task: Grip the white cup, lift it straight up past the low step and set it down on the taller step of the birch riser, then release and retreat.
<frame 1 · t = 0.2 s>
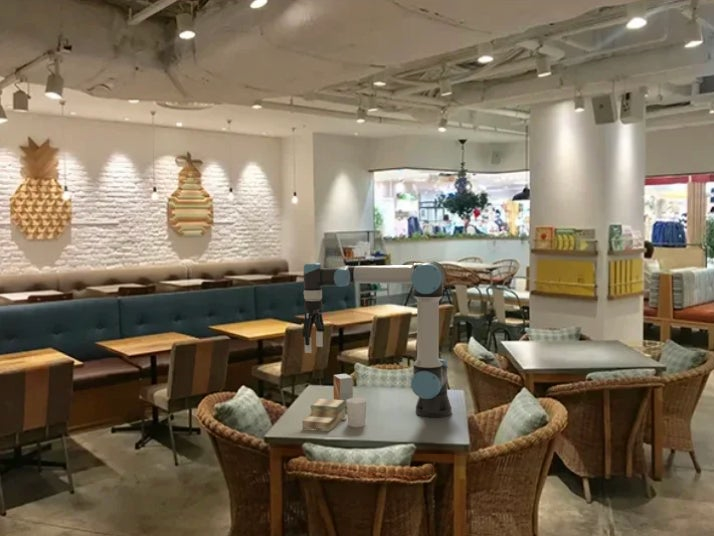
hand: (314, 349, 275), 28 cm above the table, fingers open, 13 cm apart
white cup: (356, 425, 261), on the table
riser: (324, 422, 264), on the table
small box: (343, 405, 290), on the table
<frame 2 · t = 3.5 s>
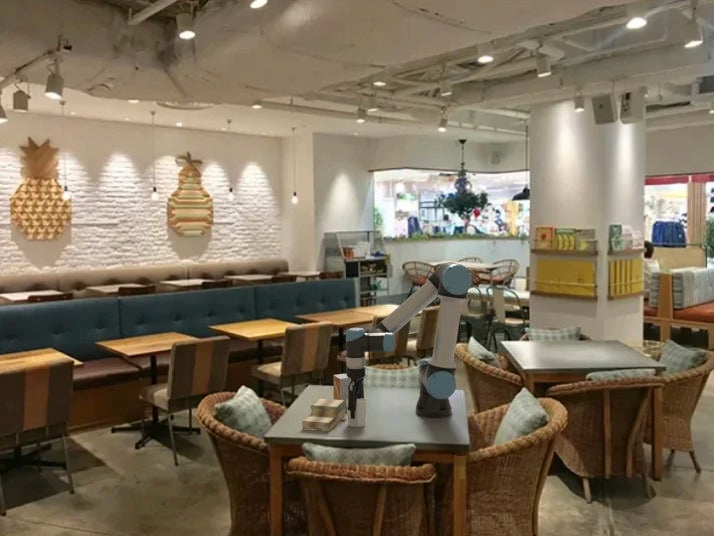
hand: (356, 422, 261), 1 cm above the table, fingers closed on white cup, 7 cm apart
white cup: (356, 425, 261), on the table, touching gripper
everything else where it was.
when the fingers open (9 cm above the table, at t = 8.8 s): white cup drops 1 cm, resting on riser.
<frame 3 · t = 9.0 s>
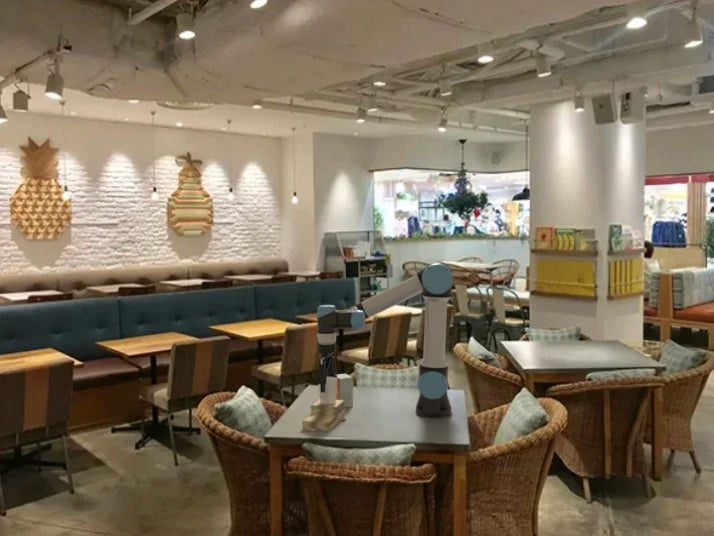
hand: (327, 396, 268), 10 cm above the table, fingers open, 9 cm apart
white cup: (327, 403, 268), point 7 cm above the table, touching riser
everything else where it was.
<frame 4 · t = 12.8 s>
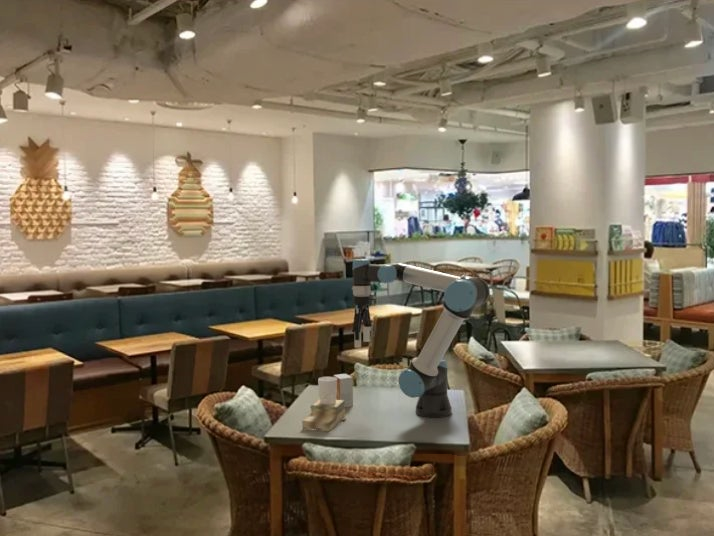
hand: (362, 344, 279), 29 cm above the table, fingers open, 13 cm apart
nothing on the table moved.
at the end: white cup inside the target area (0.4 cm from its centre), point 6.8 cm above the table; white cup tilted 0°; the gripper is holding nothing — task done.
